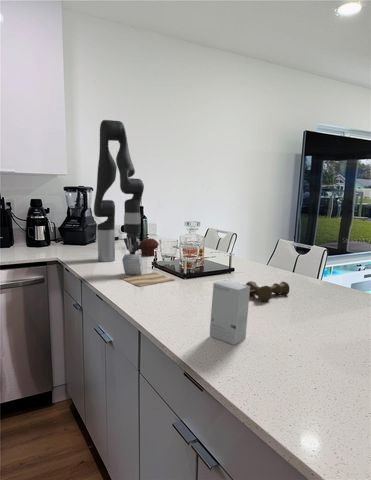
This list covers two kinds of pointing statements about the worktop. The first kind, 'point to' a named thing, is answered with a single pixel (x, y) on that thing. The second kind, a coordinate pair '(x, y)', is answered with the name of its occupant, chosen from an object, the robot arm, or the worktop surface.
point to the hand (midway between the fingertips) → (132, 259)
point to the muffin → (148, 247)
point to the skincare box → (229, 311)
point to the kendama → (268, 290)
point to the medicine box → (132, 264)
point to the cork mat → (147, 279)
